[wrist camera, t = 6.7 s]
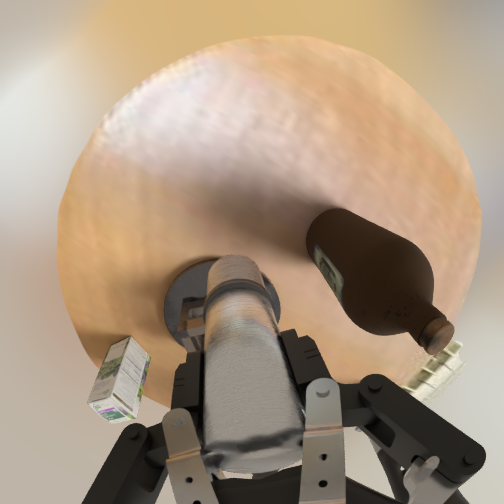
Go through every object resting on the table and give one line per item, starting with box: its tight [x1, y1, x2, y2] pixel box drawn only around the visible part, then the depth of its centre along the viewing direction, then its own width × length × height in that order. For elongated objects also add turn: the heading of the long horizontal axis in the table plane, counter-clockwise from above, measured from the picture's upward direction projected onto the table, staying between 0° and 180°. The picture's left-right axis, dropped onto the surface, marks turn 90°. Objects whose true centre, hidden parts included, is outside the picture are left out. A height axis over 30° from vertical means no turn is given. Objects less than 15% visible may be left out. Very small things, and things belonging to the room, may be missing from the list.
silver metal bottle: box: [203, 255, 306, 473], centre depth 14 cm, size 4×4×14 cm
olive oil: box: [306, 209, 454, 355], centre depth 30 cm, size 11×11×25 cm
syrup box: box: [87, 336, 151, 424], centre depth 38 cm, size 6×6×14 cm
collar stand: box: [164, 259, 281, 353], centre depth 39 cm, size 18×18×10 cm
